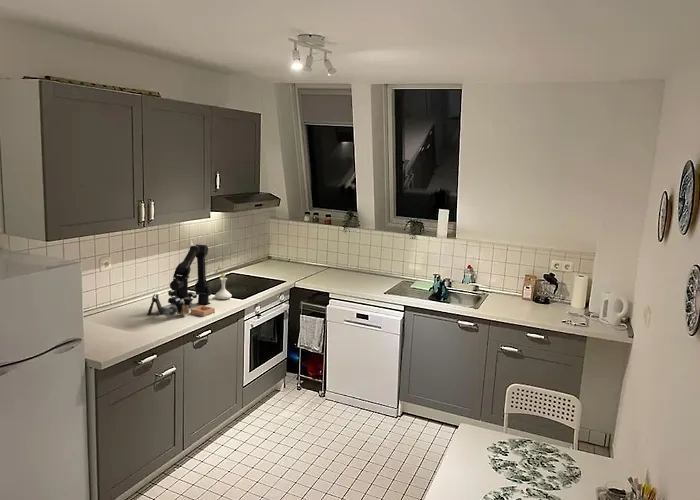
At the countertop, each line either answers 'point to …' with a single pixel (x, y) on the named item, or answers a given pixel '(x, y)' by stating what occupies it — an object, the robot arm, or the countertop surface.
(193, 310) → the open tan box
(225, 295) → the flower in vase
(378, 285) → the countertop surface
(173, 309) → the dolly
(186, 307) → the taped cardboard box
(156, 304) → the phone stand
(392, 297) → the countertop surface
